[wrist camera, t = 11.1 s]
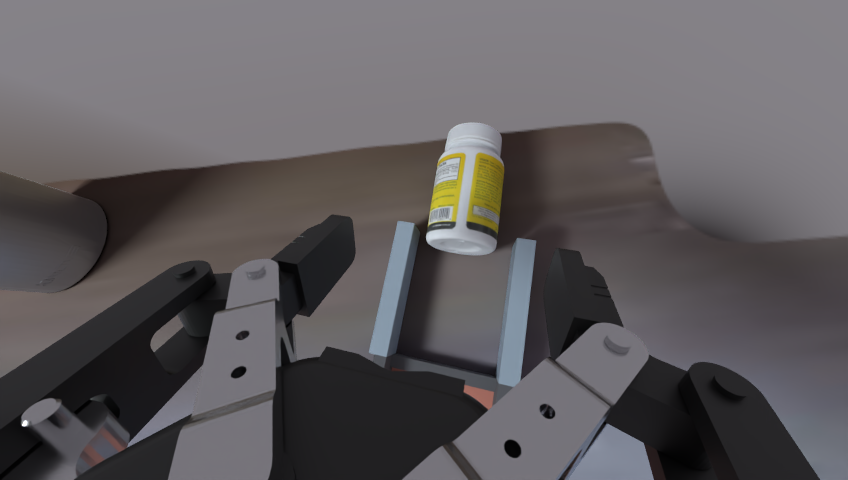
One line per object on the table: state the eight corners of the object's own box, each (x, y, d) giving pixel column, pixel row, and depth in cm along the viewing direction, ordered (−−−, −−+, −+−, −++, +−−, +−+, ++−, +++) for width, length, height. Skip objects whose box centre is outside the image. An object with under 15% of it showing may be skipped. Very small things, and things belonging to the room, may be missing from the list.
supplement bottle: (493, 259, 22) (505, 156, 24) (498, 243, 18) (512, 119, 20) (429, 251, 23) (445, 152, 25) (418, 234, 19) (439, 116, 21)
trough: (513, 380, 20) (519, 388, 18) (380, 349, 22) (368, 352, 20) (529, 249, 22) (536, 240, 20) (405, 230, 24) (398, 220, 22)
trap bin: (489, 530, 18) (491, 561, 16) (356, 486, 20) (340, 509, 18) (507, 379, 20) (512, 386, 18) (385, 350, 22) (374, 354, 20)
